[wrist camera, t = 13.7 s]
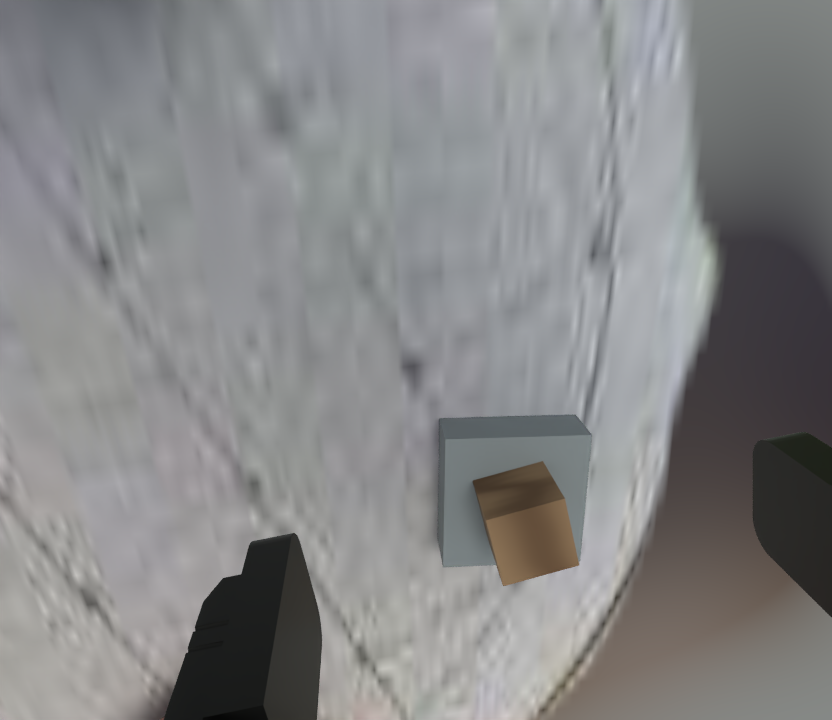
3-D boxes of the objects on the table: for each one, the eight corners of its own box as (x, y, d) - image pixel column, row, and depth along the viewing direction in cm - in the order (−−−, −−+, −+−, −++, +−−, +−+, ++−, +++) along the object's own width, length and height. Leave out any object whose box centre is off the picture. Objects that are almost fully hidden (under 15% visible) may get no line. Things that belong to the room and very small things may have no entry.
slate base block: (436, 535, 49) (443, 567, 46) (438, 416, 46) (445, 439, 43) (563, 530, 50) (579, 561, 46) (573, 412, 47) (592, 435, 43)
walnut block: (488, 540, 45) (503, 586, 41) (472, 480, 44) (485, 520, 39) (556, 522, 45) (579, 565, 40) (542, 461, 44) (565, 498, 39)
